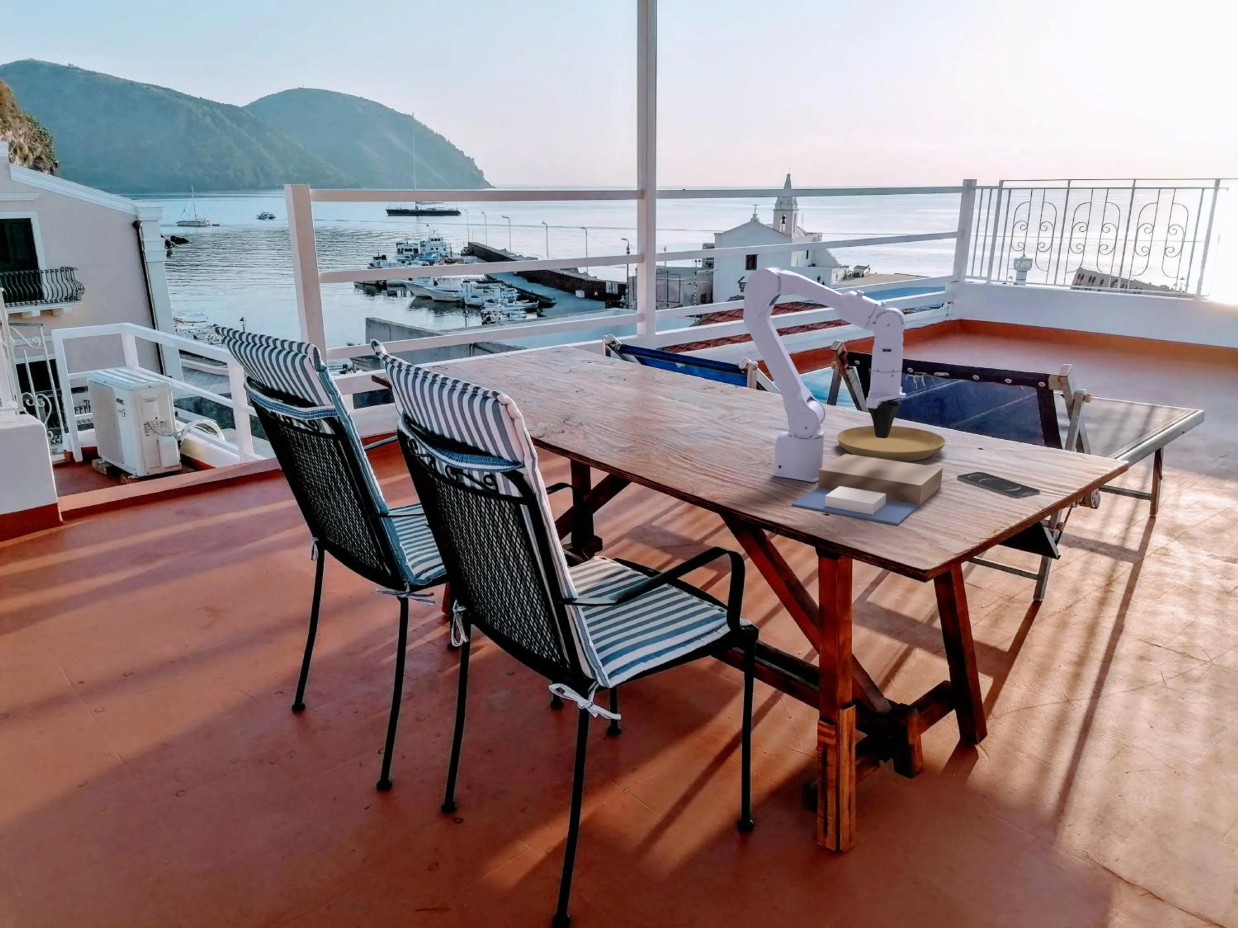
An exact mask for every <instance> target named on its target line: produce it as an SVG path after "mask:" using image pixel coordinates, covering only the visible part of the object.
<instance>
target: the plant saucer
mask: <svg viewBox="0 0 1238 928" xmlns="http://www.w3.org/2000/svg"><path fill="white" fill-rule="evenodd" d="M836 438H837V439H836V440H837V441H838V442H837V443H839V445H840V446H841V447H842V448H843V449H844V450H846V451H847V452H848V453H850V455H857V456H864V457H871V458H878V459H885V460H892V461H899V462H915V461H920V460H925V459H926V460H927V459H929V458H931V457H933V456H934V455H936V454H938V453H939V452H940V451H941V450H942V449H943V448H944V446H945V445H946V443H947V440H946V438H945V437H944V436H942V435H940V434H938V433H936V432H932V431H930V430H925V429H921V428H917V427H908V426H899V425H898V426H896V425H892V426H891V430H890V433H889V436H888V437H887V438H877V437H876V436H875V431H874V425H864V426H856V427H850V428H847V429H843V430H841V431H839V432H838V433H837V435H836Z"/></svg>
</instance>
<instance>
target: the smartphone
mask: <svg viewBox="0 0 1238 928" xmlns="http://www.w3.org/2000/svg"><path fill="white" fill-rule="evenodd" d="M956 480H957V481H960V482H964V483H967V484H969V485H971V486H972V485H973V486H976V487H979V488H982V489H985V490H988V491H991V492H993V493H997V494H1000V495H1003V494H1004V496H1006V495H1007V496H1006V497H1010V498H1013V497H1015V498H1014V499H1020V498H1019V497H1022V498H1026V497H1025V496H1027V497H1030V496H1029V495H1031V496H1035V495H1034V494H1036V495H1040V494H1041V490H1040V489H1038V488H1034V487H1031V486H1028V485H1024V484H1021V483H1019V482H1015V481H1012V480H1009V479H1006V478H1003V477H1000V476H997V475H993V474H991V473H990V474H989V473H987V472H983V471H976V472H970V473H965V474H959V475H957V477H956ZM1039 493H1040V494H1039Z"/></svg>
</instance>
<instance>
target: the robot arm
mask: <svg viewBox="0 0 1238 928" xmlns="http://www.w3.org/2000/svg"><path fill="white" fill-rule="evenodd" d="M864 294H865V292H864V291H862V290H857V291H854V290H849V291H847V292H845V293H841V292H839V291H836V290H834V289H832V288H830V287H828V286H826V285H823V284H821V283H819V282H817V281H814V280H812V279H810V278H808V277H806V276H804V275H801V274H800V273H797V272H794V271H791V270H786V269H783V270H782V268H780V267H777V266H773V265H772V266H771V265H770V266H768V267H767V266H766V267H764V268H758V269H756V270H754V271H752V273H751V274H750V275H749V276H748V278H747V281H746V283H745V285H744V288H743V295H744V303H743V314H742V315H743V316H742V320H743V323H744V326H746V329H747V331H748V333H749V335H750V336H751V338H752V340H753V343H754V344H755V346H756V349H757V351H758V352H759V354H760V356H761V358H762V359H763V362H764V364H765V366H766V368H767V369H768V371H769V373H770V375H771V377H772V379H773V381H774V383H775V385H776V386H777V389H778V391H779V392H780V395H781V396H782V402H783V408H784V410H785V412H786V414H787V425H788V428H789V430H788V431H781V432H780V433H779V434H778V436H777V437H776V441H775V445H774V471H773V472H772V475H773V476H774V477H781V478H786V479H793V480H798V481H805V482H811V483H816V482H818V479H819V469H821V468H822V467H823V463H824V462H823V461H824V459H823V458H824V441H825V436H824V435H825V432H824V430H823V429H822V427H821V424H823V422H824V421H825V418H826V409H825V407H824V404H822V402H821V401H819V400H818V399H817V398H816V397H814V395H813V393H812V391H811V390H810V389H809V388H808V387H807V386H806V385H805V383H804V382H803V379H802V378H801V376H800V374H799V372H798V370H797V368H796V365H795V364H794V361H793V360H792V358H791V356H790V354H789V352H788V351H787V349H786V346H785V345H784V342H783V341H782V339H781V337H780V335H779V333H778V331H777V329H776V327H775V325H774V324H773V321H772V320H771V315H772V313H773V310H774V308H775V305H776V302H777V301H778V300H779V298H780V297H786V296H787V297H788V296H795V295H797V296H800V297H802V298H806V299H808V300H811V301H813V302H816V303H818V304H821V305H824V306H826V307H828V308H831V309H834V310H835V312H836V315H837V318H838V319H840V320H843V321H844V322H847V323H849V324H852V325H854V326H856V327H858V328H861V329H863V330H865V331H871V330H872V331H873V334H874V342H873V346H872V353H871V354H872V355H871V356H872V357H871V369H870V370H871V371H870V386H869V391H868V396H867V397H866V398H865V399H866V400H865V408H867V409H868V412H869V414H870V416H871V419H872V424H873V425H872V426H874V431H875V436H876V437H877V438H887V437H888V436H889V433H890V430H891V426H893V422H894V420H895V417H896V415H897V413H898V411H899V409H901V406H902V401H899V400H897V399H904V398H906V397H907V393H905V392H903V386H901V385H902V371H903V358H904V347H903V344H904V339H905V338H904V330H905V328H906V323H907V318H906V315H905V313H904V312H903V311H902V310H901V309H899V308H897V307H896V306H895V305H894V306H893V305H888V303H887V302H885V301H881V302H879V301H877V300H875V299H872V298H870V297H868V296H865V295H864ZM887 305H888V306H887Z"/></svg>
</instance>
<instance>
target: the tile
mask: <svg viewBox="0 0 1238 928" xmlns="http://www.w3.org/2000/svg"><path fill="white" fill-rule="evenodd" d="M885 503H886V494H884V493H878V492H872V491H866V490H860V489H854V488H848V487H842V486H839V487H838V488H836V489H835V490H833V491H832V492H830V493H829V494H827V495H826V496H825V506H828V507H834V508H839V509H845V510H850V511H856V512H861V513H867V514H872V515H873V514H874V513H875V512H876V511H878V510H879V509H880V508H881V507H882V506H884V505H885Z"/></svg>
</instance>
